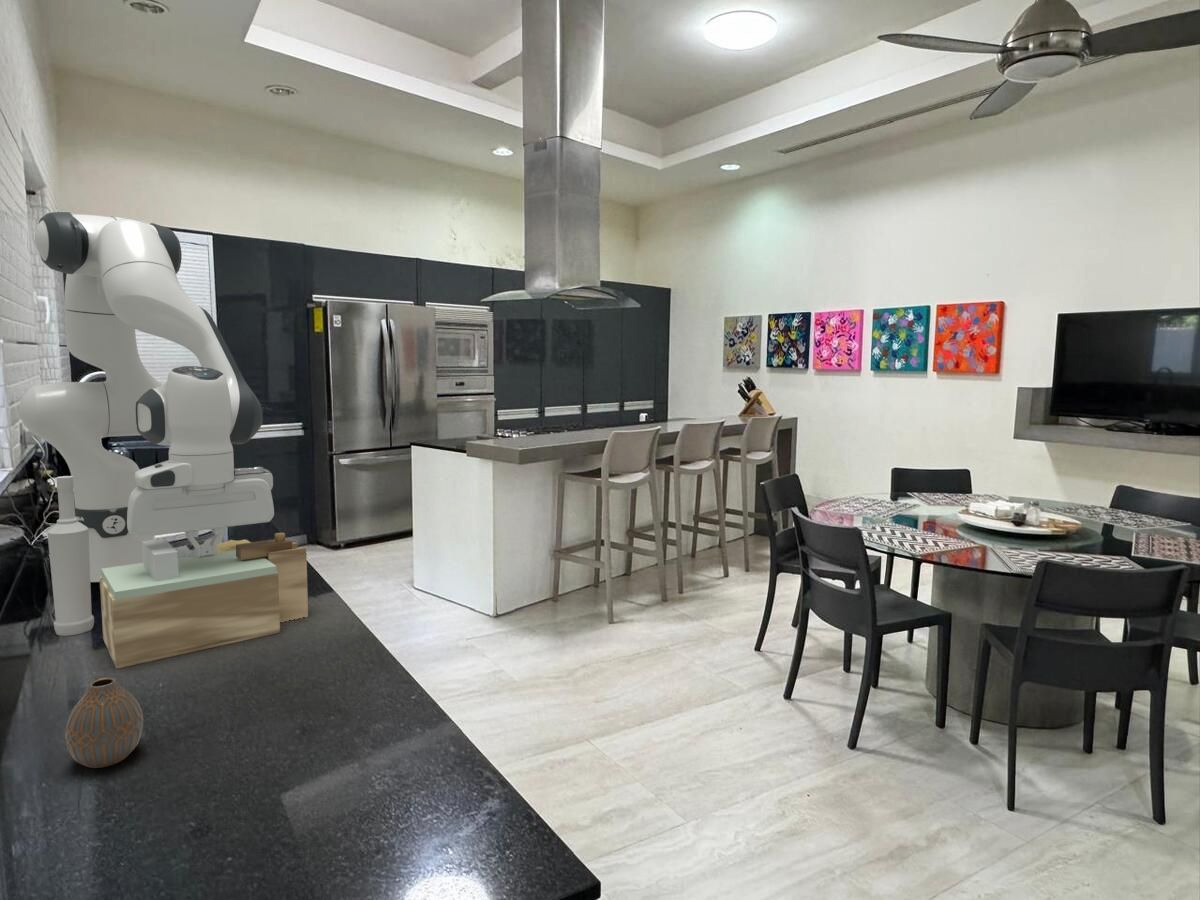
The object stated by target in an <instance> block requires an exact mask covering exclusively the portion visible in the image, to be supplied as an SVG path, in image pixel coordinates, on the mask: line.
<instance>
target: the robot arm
mask: <svg viewBox="0 0 1200 900" xmlns="http://www.w3.org/2000/svg"><path fill="white" fill-rule="evenodd" d="M180 242H181V241H180V239H179V237H178V236H177V235H176V234H175V232H174V231H173V230H172V229H169V228H168V227H165V226H163V225H160V224H156V223H153V222H150V223H147V222H143V221H141V220H137V219H136V220H135V219H131V218H130V219H129V218H125V217H118V216H114V215H113V216H105V215H96V214H95V215H93V214H80V213H79V214H78V213H77V214H76V213H71V212H69V211H55V212H54V211H52V212H47V213H46V214H44V215H43V216H42V217H41V218H40V219H39V221H38V225H37V226H36V228H35V233H34V243H35V248H36V250H37V253H38V254H39V257H40V259H41V261H42V262H43V264H45V265H46V266H47V267H48V268H49V269H51V270H53V271H56V272H59V273H63V274H66V275H65V284H64V299H63V301H64V325H65V326H64V327H65V330H64V331H65V346H66V348H67V350H68V351H69V353H70V354H71V356H73V357H74V358H76V359H78V360H80V361H82V362H84V363H86V364H88V365H91V366H93V367H96V368H98V369H101V370H102V371H103V372H104V373H105V376H106V377H105V381H98V382H97V381H58V382H52V383H51V382H50V383H45V384H38V385H33V386H31V387H30V388H28V389H27V390H26V391H25V392H24V394H23V395H22V397H21V399H20V401H19V408H18V411H19V412H18V413H19V418H20V420H21V422H22V424H23V425H24V428H26V429H27V430H28V431H29V432H31V434H32V435H35V436H36V437H38V438H41V439H42V440H44V441H46V442H47V443H48V444H49V445H51V446H52V447H54V449H56V451H58V452H59V454H60V455H61V456H62V458H63V459H64V460H65V462H66V464H67V466H68V469H69V472H70V476H73V486H74V488H73V493H74V507H75V517H76V518H78V522H80V523H81V524H83V525H85V526H86V527H88V530H89V557H90V583H100V577H102V573H101V569H102V568H110V567H117V566H124V565H131V564H138V563H143V549H142V541H149V540H156V538H155V537H156V536H163V535H169V534H170V535H171V534H178V533H179V534H180V533H185V537H186V539H187V540H188V541H189V542H190V543H191V545H192V546H193V549H194V551H193V552H194V556H195V557H196V558H202V557H209V556H216V555H217V545H218V544H219V543H221V541H222V538H223V537H224V535H225V528H228V527H237V526H247V525H253V524H255V525H256V524H262V523H270V522H271V521H272V519H273V518H274V517H275V509H274V508H275V507H274V501H273V495H272V490H273V487H274V476H273V473H272V472H271V471H270V470H269V469H268V468H267V469H266V468H264V467H263V466H254V467H234V466H235V464H234V463H235V462H234V460H235V459H234V447H233V445H243V444H246V443H247V442H249V441H250V440H251V439H252V438H253V437H254V436H255V435H256V434H257V433H258V431H259V430H261V427H262V425H263V419H264V418H263V408H262V406H261V403H260V400H259V399H258V397H257V396H256V394H255V393H254V391H252V389H251V388H250V386H249V385H248V383H247V382H246V381H245V378H244V377H243V375H242V372H241V371H240V369H239V367H238V365H237V363H236V361H235V359H234V357H233V355H232V353H231V351H230V349H229V347H228V345H227V343H226V341H225V339H224V337H223V336H222V333H221V332H220V330H219V328H218V326H217V324H216V322H215V321H214V319H213V317H212V316H211V315H210V313H209V312H208V311H207V310H206V309H205V308H203V307H201V306H200V305H198V304H197V303H196V302H195V301H194V300H192V298H191V297H190V296H189V294H188V293H186V292H185V290H184V288H183V287H182V285H181V284H180V282H179V280H178V276H177V274H179V271H180V269H181V266H182V258H183V257H182V256H183V253H182V246H181V243H180ZM136 330H137V331H139V332H141V333H145V334H149V335H152V336H155V337H159V338H162V339H165V340H167V341H170V342H173V343H175V344H178V345H179V346H182V347H184V348H185V349H187V350H189V352H191V353H192V354H194V355H195V357H196V358H197V360H198V362H199V364H200V366H196V365H194V366H193V365H192V366H191V365H188V366H187V365H186V366H179V367H175V368H172V369H171V370H169V372H168V375H167V381H166V382H164V383H160V381H158V380H156V379H155V378H154V377H153V376H152V375H151V374H150V373H149V371H148V370H147V369H146V367H145V365H144V364H143V362H142V360H141V358H140V355H139V350H138V345H137V336H136ZM132 436H135V437H136V436H142V437H143V438H144V439H145V440H147V441H148V442H150V443H151V444H153V445H159V446H164V447H165V446H169V449H168V460H165V461H162V462H159V463H156V464H153V465H150V466H147V467H143V468H141V469H140V467H139V466H138V464H137V463H136V462H135V461H134V460H133V459H131V458H129V457H127V456H124V455H122V454H119V453H117V452H113V451H109V450H108V449H106V448H105V447H104V446H103V444H102V443H103V442H102V439H103V438H108V437H109V438H111V437H132ZM202 530H203V531H204V530H211V533H212V534H213V537H212V538H211V540H210V542H209V543H205V544H200V543H199V542H198V541H197V539H196V538H198V537H199V531H202Z"/></svg>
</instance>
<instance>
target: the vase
mask: <svg viewBox="0 0 1200 900" xmlns="http://www.w3.org/2000/svg"><path fill="white" fill-rule="evenodd" d="M143 729H144V714H143V709H142V708H141V705H140V703H139V701H138V700H137V698H136V697H135V696H134V695H133V694H132V693H130V692H129V691H128V690H127V689H125V688H124V687H123V686H121V684H120V683H119V682H118V681H117V678H114V677H102V678H98V679H95V680H93V681H91V682H90V683H89V685H88V686H87V689H86V691H85V693H84V694H83V696H82V697H81V698H80V699H79V700H78V701H77V703H76V704H75V705H74V707H73V708H72V710H71V712H70V714H69V716H68V718H67V722H66V725H65V735H64V737H65V745H66V747H67V751H68V753H69V755H70V756H71V757H72V758H73V760H74V761H75V762H76V763H78V764H80V765H82V766H84V767H86V768H91V769H100V768H101V769H102V768H106V767H111V766H113V765H115V764H118V763H120V762H121V761H124V760H125V759H126V758H127V757H128V756H129V755H130V754H131V753H132V752H134V750H135V748H136V747H137V746H138V744H139V742H140V741H141V737H142V734H143Z"/></svg>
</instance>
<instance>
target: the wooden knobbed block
mask: <svg viewBox="0 0 1200 900" xmlns="http://www.w3.org/2000/svg"><path fill="white" fill-rule="evenodd" d="M250 542H251V543H244V544H236V557H238V558H239V559H240V560H247V559H253V558H260V557H267V556H268V553H269V552H276V551H282V550H289V549H292V543H293V541H292V540H291V539H288V537H286V533H285V532H275V533H274V539H268V540H267V539H266V540H260V541H253V542H252V541H250Z"/></svg>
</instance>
